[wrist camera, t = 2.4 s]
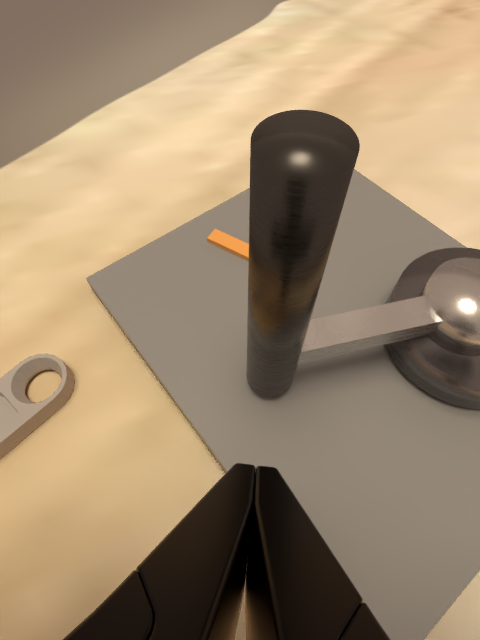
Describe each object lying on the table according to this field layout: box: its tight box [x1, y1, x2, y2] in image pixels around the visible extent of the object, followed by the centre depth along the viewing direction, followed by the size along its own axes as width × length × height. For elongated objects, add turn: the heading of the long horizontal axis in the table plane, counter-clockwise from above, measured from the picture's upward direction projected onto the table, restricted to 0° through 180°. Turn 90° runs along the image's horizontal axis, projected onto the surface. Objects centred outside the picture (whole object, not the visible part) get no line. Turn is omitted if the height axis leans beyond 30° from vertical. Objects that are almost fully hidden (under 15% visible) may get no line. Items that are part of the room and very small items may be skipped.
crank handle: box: [246, 110, 480, 409], centre depth 12 cm, size 8×13×11 cm, turn 128°
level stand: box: [86, 169, 480, 640], centre depth 19 cm, size 20×17×1 cm
